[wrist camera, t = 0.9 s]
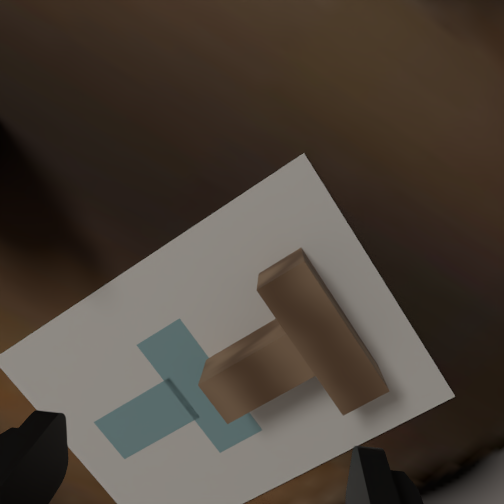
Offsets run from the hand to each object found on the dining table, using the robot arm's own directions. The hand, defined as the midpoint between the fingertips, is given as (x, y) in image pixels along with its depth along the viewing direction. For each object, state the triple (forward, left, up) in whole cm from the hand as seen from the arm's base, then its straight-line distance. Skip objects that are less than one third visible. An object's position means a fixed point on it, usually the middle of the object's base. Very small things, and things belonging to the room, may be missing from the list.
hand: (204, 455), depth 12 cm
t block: (+3, +8, -23) cm, 25 cm away
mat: (+9, +8, -24) cm, 26 cm away
